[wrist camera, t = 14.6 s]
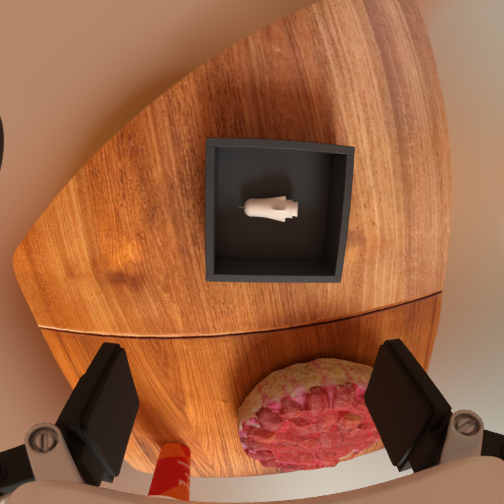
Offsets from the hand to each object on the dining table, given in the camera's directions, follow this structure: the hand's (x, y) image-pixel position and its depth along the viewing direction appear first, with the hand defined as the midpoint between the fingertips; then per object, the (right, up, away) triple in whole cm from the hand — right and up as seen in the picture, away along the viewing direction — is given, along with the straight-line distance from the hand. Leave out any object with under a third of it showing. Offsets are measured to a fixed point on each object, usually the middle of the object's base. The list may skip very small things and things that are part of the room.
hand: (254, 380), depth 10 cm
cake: (+10, -21, +33) cm, 41 cm away
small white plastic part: (+2, +10, +22) cm, 24 cm away
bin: (+2, +10, +23) cm, 25 cm away
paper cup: (-14, -33, +36) cm, 51 cm away
